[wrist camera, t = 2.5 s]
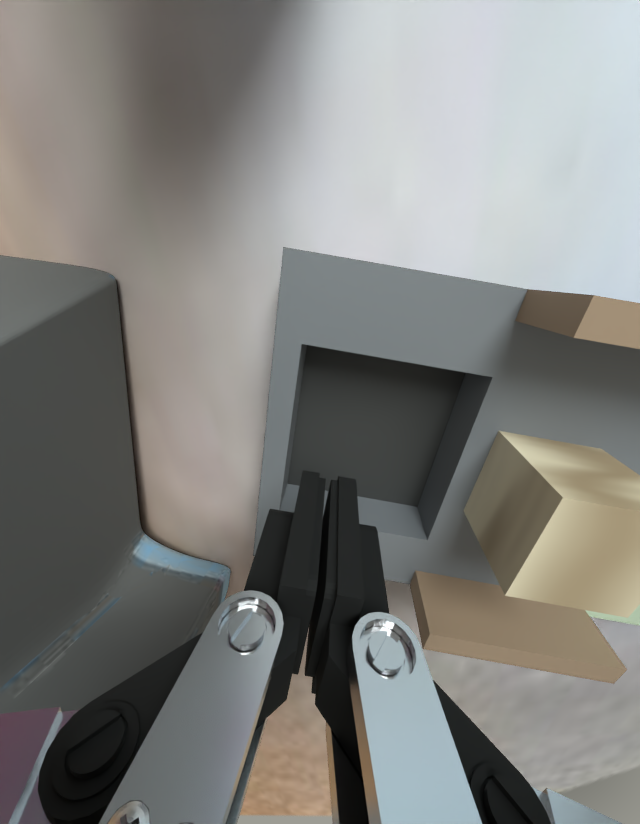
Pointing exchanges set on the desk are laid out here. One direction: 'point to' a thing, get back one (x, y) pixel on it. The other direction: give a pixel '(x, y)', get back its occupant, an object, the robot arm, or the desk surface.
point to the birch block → (559, 523)
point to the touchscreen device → (78, 503)
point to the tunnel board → (446, 429)
